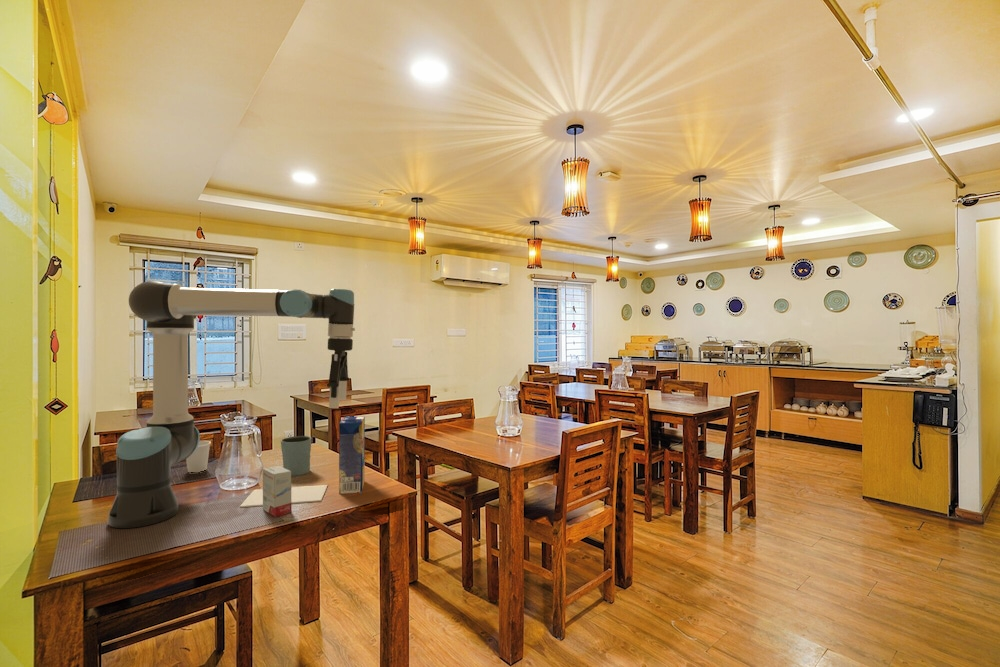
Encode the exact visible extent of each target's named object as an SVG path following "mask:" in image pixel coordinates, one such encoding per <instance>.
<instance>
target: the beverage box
mask: <svg viewBox="0 0 1000 667" xmlns="http://www.w3.org/2000/svg"><path fill="white" fill-rule="evenodd" d="M365 418H366V416H365V415H363V416H343V417H342V419H341V420H340V421H339V424H338V427H339V430H338V432H339V433H338V434H339V435H338V441H339V442H338V444H339V445H338V446H339V447H338V448H339V449H338V452H339V453H338V455H339V456H338V469H339V470H338V472H339V473H338V478H339V479H338V483H339V484H338V487H339V488H338V494H339V495H340V494H341V495H342V494H343V495H344V494H354V493H357V492H359V493H362V492H363V489H364V485H365V480H366V479H365V474H366V473H365V470H366V469H365V464H366V462H365V461H366V460H365V458H366V457H365V455H366V454H365V449H366V448H365V443H366V442H365V438H366V436H365V431H366V429H365V427H366V426H365V421H366V420H365Z"/></svg>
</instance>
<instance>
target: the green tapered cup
mask: <svg viewBox="0 0 1000 667" xmlns="http://www.w3.org/2000/svg"><path fill="white" fill-rule="evenodd" d="M280 447H281V448H280V449H281V454H282V455H281V456H282V465H283V466H282V467H283V468H285V469H287V470H289V471H291V477H294V476H295V477H296V476H303V475H306V474H308V473H310V470H311V450H312V437H311V436H308V435H295V436H289V437H285V438H282V439H281V440H280Z"/></svg>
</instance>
